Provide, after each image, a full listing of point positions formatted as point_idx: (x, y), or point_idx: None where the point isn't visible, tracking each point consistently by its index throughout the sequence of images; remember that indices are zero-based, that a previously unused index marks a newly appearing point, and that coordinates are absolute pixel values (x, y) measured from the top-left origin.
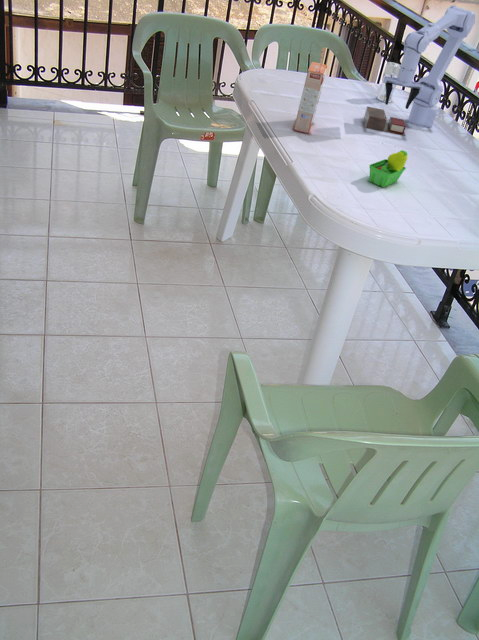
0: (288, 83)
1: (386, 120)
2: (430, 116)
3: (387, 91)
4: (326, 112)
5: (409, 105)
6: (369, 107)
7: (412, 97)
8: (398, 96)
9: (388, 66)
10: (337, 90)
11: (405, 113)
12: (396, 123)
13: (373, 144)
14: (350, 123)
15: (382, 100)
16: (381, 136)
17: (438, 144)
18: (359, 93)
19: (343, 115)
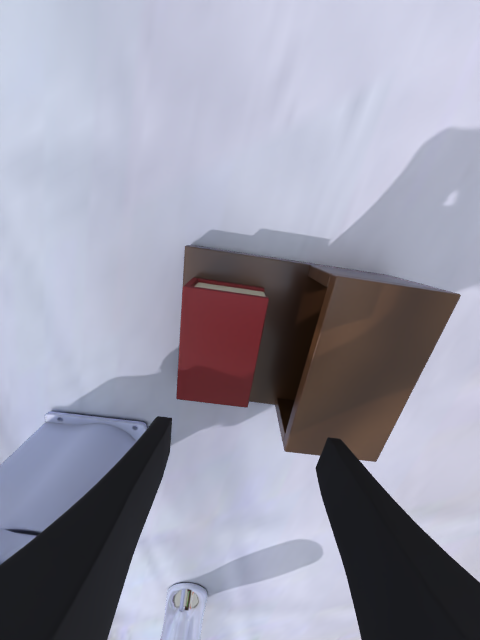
0: None
1: (334, 275)
2: (15, 475)
3: (477, 587)
4: (468, 437)
5: (138, 440)
6: (369, 451)
7: (77, 537)
8: (137, 622)
9: None
10: (319, 602)
11: None
12: (240, 309)
13: (432, 49)
14: None
15: (195, 587)
16: (312, 245)
17: (8, 265)
18: (254, 605)
19: (401, 435)
